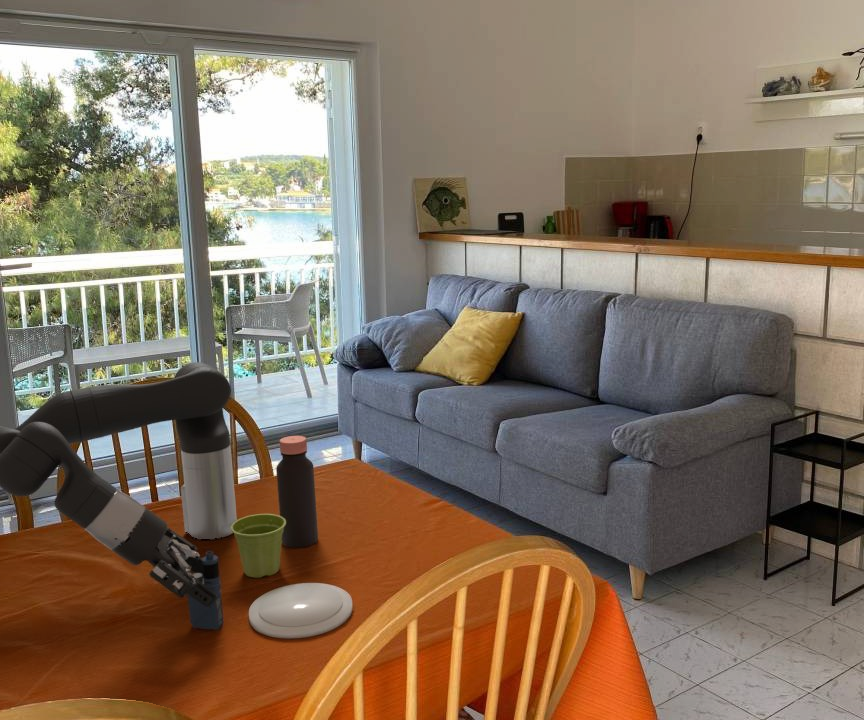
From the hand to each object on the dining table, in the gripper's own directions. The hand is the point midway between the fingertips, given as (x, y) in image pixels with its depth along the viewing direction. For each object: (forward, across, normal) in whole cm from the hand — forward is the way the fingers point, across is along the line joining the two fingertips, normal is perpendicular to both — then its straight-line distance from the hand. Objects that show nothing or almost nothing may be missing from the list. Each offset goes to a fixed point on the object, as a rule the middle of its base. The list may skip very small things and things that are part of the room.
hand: (213, 588), depth 130 cm
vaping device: (+3, 0, -5) cm, 6 cm away
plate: (+13, 0, +5) cm, 14 cm away
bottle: (+15, -28, +6) cm, 32 cm away
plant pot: (+10, -17, +1) cm, 20 cm away
